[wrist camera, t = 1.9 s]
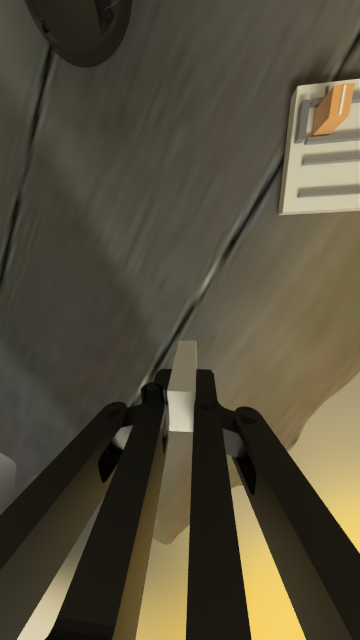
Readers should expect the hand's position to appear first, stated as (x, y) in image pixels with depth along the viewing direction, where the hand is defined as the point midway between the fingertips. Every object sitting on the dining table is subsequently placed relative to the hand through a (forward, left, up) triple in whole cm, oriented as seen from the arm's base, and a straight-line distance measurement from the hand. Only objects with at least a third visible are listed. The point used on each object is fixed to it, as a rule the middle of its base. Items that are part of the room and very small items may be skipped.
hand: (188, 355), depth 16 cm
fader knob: (-26, +19, -22) cm, 40 cm away
